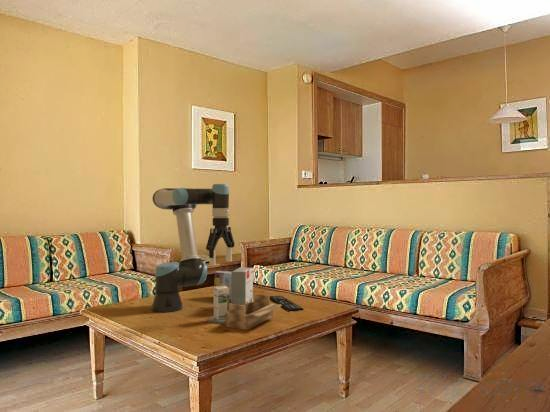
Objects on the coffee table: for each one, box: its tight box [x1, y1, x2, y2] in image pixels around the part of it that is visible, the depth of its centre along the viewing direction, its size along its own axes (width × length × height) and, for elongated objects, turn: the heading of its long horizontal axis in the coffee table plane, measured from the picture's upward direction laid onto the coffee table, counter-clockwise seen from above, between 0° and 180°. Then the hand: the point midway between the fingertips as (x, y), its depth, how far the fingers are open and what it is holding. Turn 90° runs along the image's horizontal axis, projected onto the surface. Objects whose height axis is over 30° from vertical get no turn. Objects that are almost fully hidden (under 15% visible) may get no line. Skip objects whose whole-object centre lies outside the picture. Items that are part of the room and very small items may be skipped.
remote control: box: [269, 295, 304, 312], centre depth 234 cm, size 8×32×2 cm, turn 20°
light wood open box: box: [224, 293, 282, 331], centre depth 200 cm, size 17×24×10 cm
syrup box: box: [212, 286, 230, 320], centre depth 203 cm, size 6×6×14 cm
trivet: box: [205, 315, 225, 325], centre depth 203 cm, size 10×10×1 cm
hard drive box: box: [230, 266, 254, 305], centre depth 226 cm, size 16×8×20 cm, turn 168°
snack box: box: [213, 270, 232, 301], centre depth 247 cm, size 21×6×15 cm, turn 59°
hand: (220, 263), depth 203 cm, fingers open, 13 cm apart
